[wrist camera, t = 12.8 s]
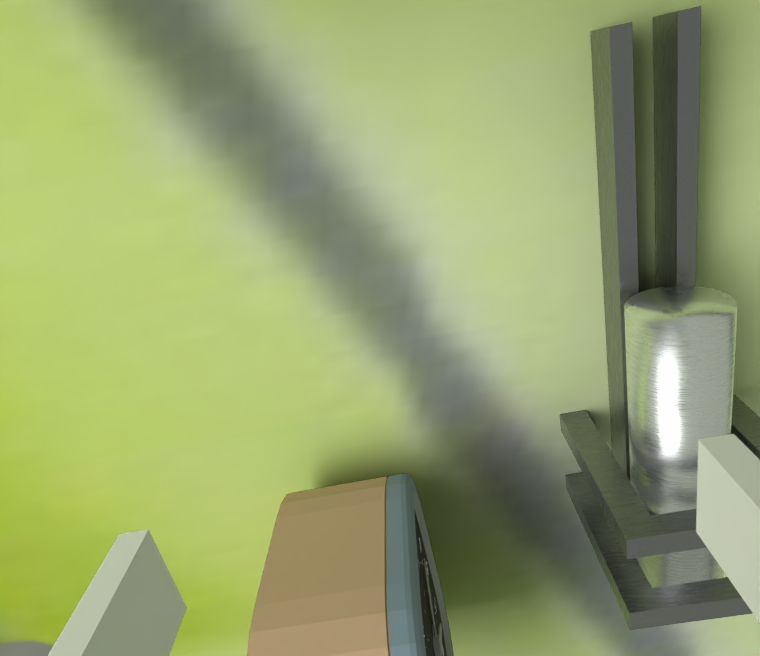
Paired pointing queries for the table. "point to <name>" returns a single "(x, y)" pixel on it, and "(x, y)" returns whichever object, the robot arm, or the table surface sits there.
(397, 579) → the alarm clock
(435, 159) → the table surface
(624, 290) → the gray metal rack
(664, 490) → the tube
